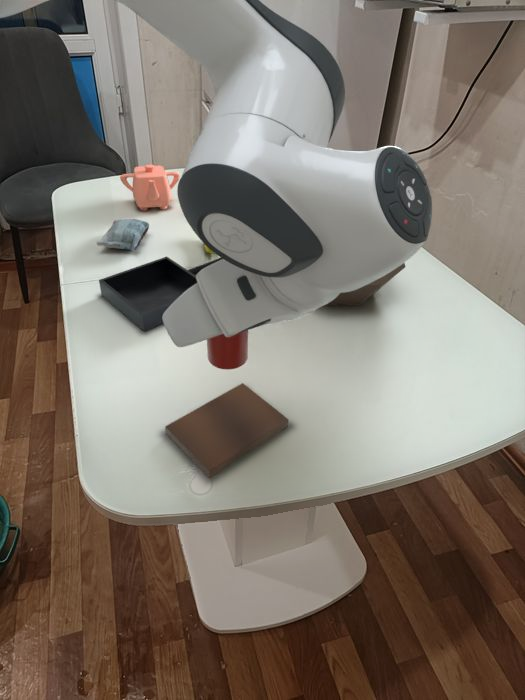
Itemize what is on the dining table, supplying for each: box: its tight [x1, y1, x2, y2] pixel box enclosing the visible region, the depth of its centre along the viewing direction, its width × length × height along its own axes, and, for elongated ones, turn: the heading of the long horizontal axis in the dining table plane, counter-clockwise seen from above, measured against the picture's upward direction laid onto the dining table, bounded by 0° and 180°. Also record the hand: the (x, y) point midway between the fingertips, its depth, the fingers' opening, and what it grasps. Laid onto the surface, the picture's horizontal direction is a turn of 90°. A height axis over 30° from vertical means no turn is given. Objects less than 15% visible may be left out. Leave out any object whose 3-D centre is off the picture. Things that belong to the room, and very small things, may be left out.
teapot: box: [119, 163, 181, 211], centre depth 130 cm, size 14×12×10 cm
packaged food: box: [96, 218, 150, 251], centre depth 114 cm, size 9×12×5 cm
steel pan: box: [98, 256, 222, 333], centre depth 99 cm, size 24×15×4 cm, turn 132°
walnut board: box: [164, 382, 289, 479], centre depth 72 cm, size 14×10×2 cm
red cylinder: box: [206, 330, 249, 370], centre depth 60 cm, size 5×5×11 cm
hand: (223, 312), depth 60 cm, fingers closed on red cylinder, 5 cm apart
